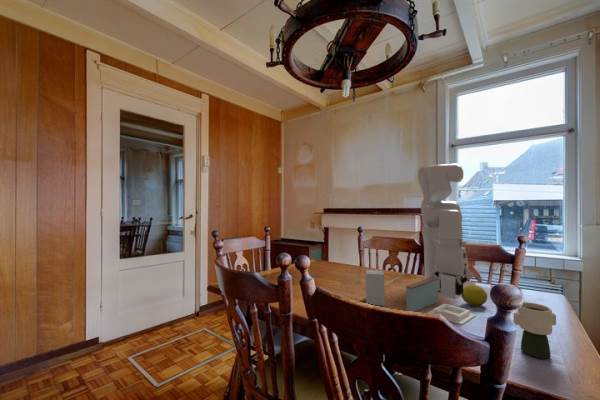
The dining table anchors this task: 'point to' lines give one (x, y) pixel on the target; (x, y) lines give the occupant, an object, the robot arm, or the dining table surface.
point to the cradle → (454, 313)
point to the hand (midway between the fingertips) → (451, 292)
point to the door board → (422, 294)
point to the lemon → (474, 295)
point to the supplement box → (375, 287)
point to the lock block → (449, 286)
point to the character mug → (535, 328)
